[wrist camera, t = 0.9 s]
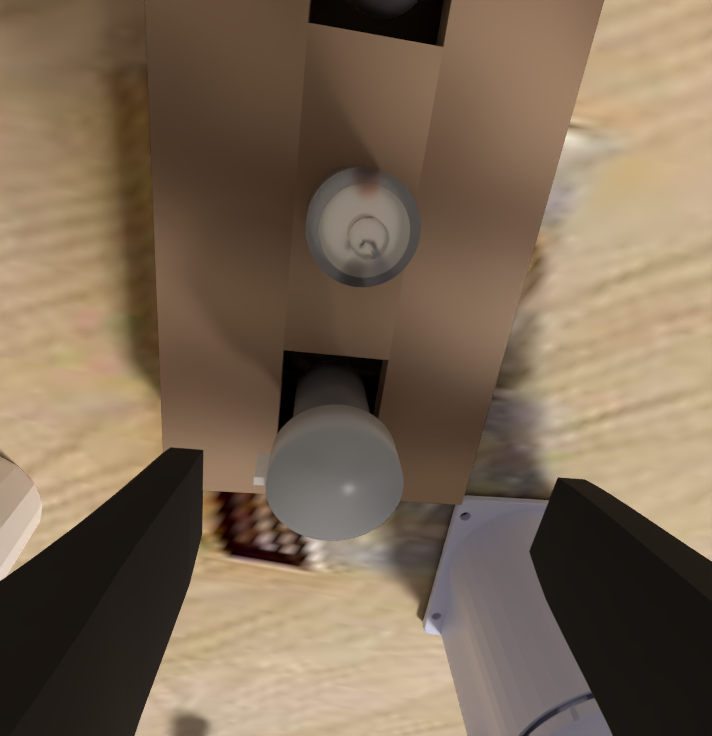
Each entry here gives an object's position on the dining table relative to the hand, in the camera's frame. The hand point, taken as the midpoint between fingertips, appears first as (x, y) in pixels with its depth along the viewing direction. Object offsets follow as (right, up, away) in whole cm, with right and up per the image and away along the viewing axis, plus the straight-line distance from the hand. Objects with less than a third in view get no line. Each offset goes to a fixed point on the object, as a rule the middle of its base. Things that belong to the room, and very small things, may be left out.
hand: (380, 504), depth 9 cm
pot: (-1, +7, +4) cm, 8 cm away
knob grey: (-2, +2, +7) cm, 7 cm away
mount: (-1, +9, +7) cm, 11 cm away
